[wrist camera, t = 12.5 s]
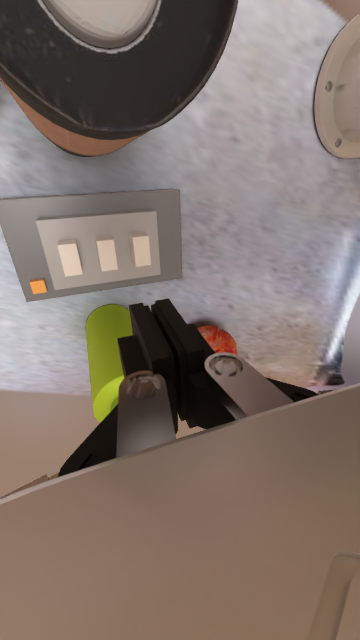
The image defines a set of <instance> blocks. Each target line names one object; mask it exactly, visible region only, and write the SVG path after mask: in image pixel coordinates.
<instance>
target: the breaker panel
mask: <svg viewBox="0 0 360 640" xmlns="http://www.w3.org/2000/svg"><path fill="white" fill-rule="evenodd" d="M0 225H1V228H2V231H3V234H4V237H5V240H6V243H7V245H8V248H9V251H10V254H11V257H12V260H13V263H14V266H15V269H16V272H17V275H18V278H19V281H20V284H21V287H22V290H23V293H24V295H25V298H26V301H27V302H30V301H36V300H43V299H49V298H56V297H62V296H69V295H75V294H81V293H88V292H94V291H101V290H107V289H114V288H120V287H127V286H133V285H140V284H146V283H153V282H159V281H166V280H172V279H179V278H182V250H181V214H180V190H178V189H160V190H142V191H125V192H107V193H90V194H72V195H55V196H37V197H20V198H2V199H0Z"/></svg>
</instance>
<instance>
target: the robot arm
mask: <svg viewBox="0 0 360 640" xmlns="http://www.w3.org/2000/svg"><path fill="white" fill-rule="evenodd" d="M314 110H315V122H316V127H317V132H318V135H319V137H320V140H321V142H322V143H323V145H324V146H325V148H326V149H327V150H328V151H329V152H330V153H331V154H332V155H334V156H337V157H339V158H346V159H349V158H358V157H360V14H358V15H357V16H356V17H354V18H353V19H352V20H351V21H350V22H348V23H347V24H346V25H345V27H344V28H343V29H342V30H341V31H340V33H339V34H338V35H337V37H336V38H335V40H334V42H333V43H332V45H331V47H330V48H329V51H328V53H327V55H326V57H325V59H324V62H323V64H322V68H321V71H320V74H319V77H318V82H317V87H316V92H315V105H314ZM129 310H130V318H131V325H132V332H133V335H131V336H126V337H121V338H117V342H118V348H119V354H120V359H121V364H122V369H123V374H124V379H123V380H122V382H121V383H120V386H119V392H118V404H117V405H116V406H115V407H114V408H113V410H112V411H111V412H110V413H109V414H108V415H107V416H106V417H105V418H104V419H103V421H102V422H101V423H100V424H99V425H98V426H97V427H96V428H95V430H94V431H93V432H92V433H91V434H90V435H89V436H88V437H87V438H86V440H85V441H84V442H83V443H82V444H81V445H80V446H79V447H78V448H77V449H76V451H75V452H74V453H73V454H72V455H71V456H70V457H69V458H68V459H67V461H66V462H65V463H64V465H63V466H62V468H61V469H60V472H59V473H57V474H55V475H53V476H51V477H49V478H48V476H47V475H44V476H42V477H40V478H38V479H36V480H34V481H32V482H30V483H28V484H26V485H24V486H22V487H20V488H18V489H17V490H14V491H13V492H11V493H9V494H7V495H5V496H3V497H1V498H0V640H360V383H358V384H355V385H352V386H348V387H345V388H341V389H337V390H324V391H318V394H317V393H315V392H313V391H311V390H308V389H305V388H302V387H298V386H294V385H291V384H287V383H284V382H280V381H276V380H273V379H269V378H266V377H264V376H263V375H262V374H261V373H259V372H258V371H257V370H256V369H255V368H254V367H252V366H251V365H250V364H249V363H248V362H246V361H245V360H244V359H243V358H241V357H240V356H238V355H235V354H233V353H227V352H224V353H215V352H214V350H213V349H212V348H211V346H210V345H209V344H208V342H207V341H206V340H205V338H204V337H203V336H202V335H201V333H200V332H199V331H198V329H197V328H196V327H195V325H194V324H186V322H185V321H184V320H183V318H182V317H181V315H180V314H179V313H178V311H177V310H176V308H175V307H174V306H173V304H172V303H171V301H170V300H169V299H163V300H157V301H155V304H153V305H151V310H150V308H149V307H148V305H147V306H144V305H143V303H139V304H133V305H129ZM177 412H178V414H177ZM178 415H179V417H180V419H181V421H184V420H186V422H187V424H188V426H189V428H193V427H195V426H199V427H201V428H203V431H200V432H197V433H194V434H191V435H188V436H185V437H181V438H178V439H176V436H175V435H176V433H177V431H178Z"/></svg>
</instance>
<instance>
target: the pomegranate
mask: <svg viewBox="0 0 360 640" xmlns="http://www.w3.org/2000/svg"><path fill="white" fill-rule="evenodd" d="M197 329H198V331H199V332H200V333H201V335H202V336H203V337H204V338H205V340H206V341H207V342H208V344H209V345H210V346H211V348H212V349H213V350H214V352H215V353H224V352H227V353H233V354H235V355H238V353H237V349H236V342H235V340H234V338H233V337H232V336H231V335H230V334H229V333H228V332H226V331H224V330H220V329H219V328H218V327H217V326H209V325H208V326H201V327H198V328H197Z"/></svg>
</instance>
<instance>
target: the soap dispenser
mask: <svg viewBox="0 0 360 640" xmlns="http://www.w3.org/2000/svg"><path fill="white" fill-rule="evenodd" d="M131 335H133V332H132V325H131V318H130V311H129V310H128V309H127V308H125V307H123V306H121V305H116V304H109V305H104V306H101V307H99V308H97V309H96V310H94V311H93V312H92V313H91V314H90V316H89V317H88V319H87V322H86V338H87V349H88V360H89V371H90V382H91V393H92V404H93V412H94V415H95V417H96V419H97V420H98V421H99V422H100V423H101V422H102V421H103V419H104V418H105V417H106V416H107V415H108V414H109V413H110V412H111V411H112V410H113V408H114V407H115V406H116V405H117V404H118V392H119V386H120V383H121V382H122V380H123V379H124V374H123V369H122V364H121V359H120V354H119V348H118V342H117V338H121V337H126V336H131Z"/></svg>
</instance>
